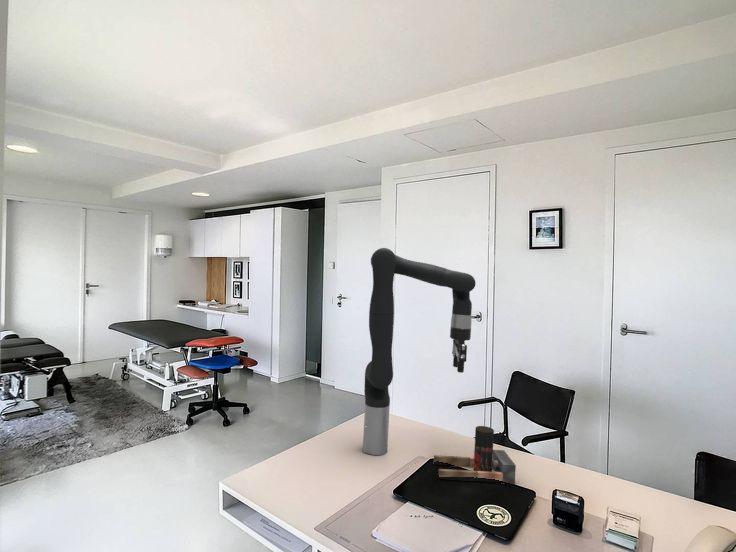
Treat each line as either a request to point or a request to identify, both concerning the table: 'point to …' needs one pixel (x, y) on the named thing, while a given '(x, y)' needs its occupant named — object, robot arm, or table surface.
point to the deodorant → (483, 448)
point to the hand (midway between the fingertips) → (458, 369)
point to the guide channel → (499, 463)
